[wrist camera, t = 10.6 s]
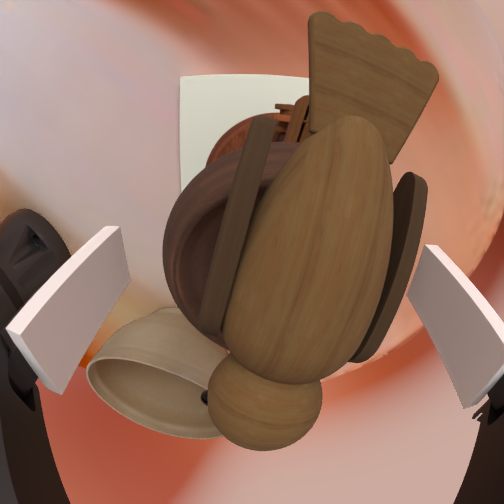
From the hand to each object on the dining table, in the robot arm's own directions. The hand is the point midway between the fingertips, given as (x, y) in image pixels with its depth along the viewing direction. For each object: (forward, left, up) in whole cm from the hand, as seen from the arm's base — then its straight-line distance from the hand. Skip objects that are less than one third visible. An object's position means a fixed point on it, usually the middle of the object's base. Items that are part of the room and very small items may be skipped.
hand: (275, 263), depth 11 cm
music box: (0, 0, -12) cm, 12 cm away
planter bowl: (-10, -19, -13) cm, 25 cm away
